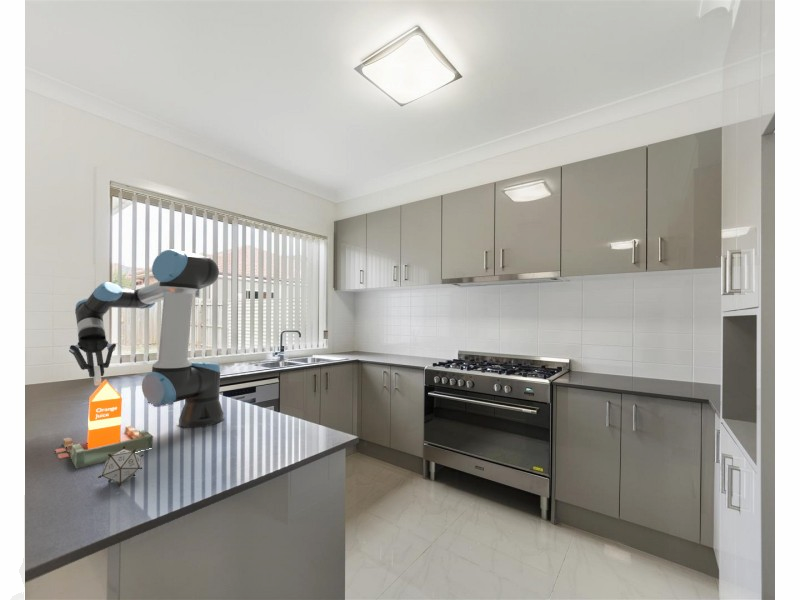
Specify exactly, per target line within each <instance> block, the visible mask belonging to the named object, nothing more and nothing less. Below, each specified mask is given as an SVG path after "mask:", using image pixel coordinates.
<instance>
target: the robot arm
mask: <svg viewBox="0 0 800 600" xmlns="http://www.w3.org/2000/svg"><path fill="white" fill-rule="evenodd" d="M217 264H218V263H216V262H215V260H214V259H212V258H211V257H208V256H205V255H202V254H197V253H194V252H189V251H184V250H180V249H179V250H178V249H166V250H163V251H162V252H160V253H159V254H158V255H157V256H156V257H155V259H154V260H153V262H152V267H151V272H152V275H153V278H154V279H155V280H156V282H153V283H151V284H149V285H146V286H143V287H141V288H138V289H134V290H133V289H126V288H125V289H124V288H122V287H121V286H120V285H118V284H117V283H113V282H110V281H104V282H102V283H100V284H99V285H98V286H97V287H96V288H94V289H93V291H92V293H91V294H90V296H89V297H88V298H84V299H82V300H79V301H77V303H76V304H75V310H74V311H75V320H76V325H77V338H78V342H77V344H75V345H74V344H72V345H70V346H69V352H70V353H71V355H73V356H74V359H75V360H76V362H77V364H78V366H79V368H80V370H83V371H84V370H87V372H88V376H89V378H92V379H93V384H94V387H96V386H97V387H98V386H100V385H101V384H102V382H103V381H102V377H103V376H104V374H105V369H107V368H109V366H110V363H111V360H112V355H113V352H114V351H115V350H116V347H117V343H109V341H108V340H107V335H106V330H105V325H104V324H105V323H104V316H105V314H106V313H108V311H109V310H110V309H111V308H122V309H123V308H125V309H151V308H152V307H154V305H155V304H156V303H158V302H161V301H163V303H162V311H161V314H162V315H161V324H160V337H159V349H158V350H159V351H158V360H157V361H156V362H154V363H153V364H152V366H151V371H150V372H149V373H147V374H145V377H143V378H142V382H141V390H142V393H143V396H144V397H145V399H146V400H147V402H148V401H149V402H150V403H152V404H154V405H163V406H166V405H165V404H169V405H173V404H174V403H177V402H180V401H181V402H182V401H184V404H183V408H182V409H181V412H180V415H179V417H178V426H179V425H180V426H179V427H184V428H199V427H200V426H201V427H205V426H206V427H207V426H211V425H214V424H218V423H220V422H221V421H223V420H224V414H225V413H224V411H223V408H222V404H221V401H220V388H221V387H220V385H221V366H220V364H219V363H217V362H203V361H202V362H198V361H196V362H195V361H192V362H191V361H190V360H189V359H188V355H189V342H190V329H191V321H192V320H191V319H192V310H193V309H192V306H193V295H194V294H195V293H196V292H197V291H199V290H201V289H204V288H207V287H210V286H211V285H213V284H214V283H215V282H216V281H217V280H218V278H219V275H220V270H219V266H218V265H217ZM106 348H107V355H106V358H105V362H104V358H103V351H104V350H105V349H106ZM81 351H83V352H84V353H85V356H86V360H85V358H84V356H83V354H82V352H81ZM93 354H95V356H96V364H97V365H95V363H94V355H93ZM86 361H87V362H86ZM149 402H148V403H149ZM150 403H149V404H150ZM172 403H173V404H172ZM152 404H151V405H152ZM154 405H153V406H154Z"/></svg>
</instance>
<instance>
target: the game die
mask: <svg viewBox="0 0 800 600" xmlns="http://www.w3.org/2000/svg"><path fill="white" fill-rule="evenodd" d="M135 451H136V449H134V450H133V451H130V450H127V449H125V446H123V449H122V450H121V451H119V452H117V453H115V454H113V455H111V454H108V456H110V457H109V458H108V460H107V461H103V462H100V463H101V464H102V465H104V466H103V470H102V472H101V474H100V475H98V477H97V479H100V478H105V479H108V483H111V482H112V481H113V482H115V483H118V486H119V487H120V486H121V487H122V483H124V482H125V481H127V480H128V479H129V478H131V477H133V476H137V475H136V473H137V472H138V471H139V470H143V466H141V459H142V457H144V456H145V454H144V453H142V454H141V455H140V454H138V453H135Z"/></svg>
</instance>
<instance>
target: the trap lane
mask: <svg viewBox="0 0 800 600" xmlns="http://www.w3.org/2000/svg"><path fill="white" fill-rule="evenodd" d="M124 428H125V429H124V432H126V433H125V434H126V435H128V436H129V437H130V436H131V437H132V438H133V439H132V438H131V437H130V438H131V439H127V440H122V441H120V442H118V443H113V444H109V445H104V446H100V447H95V448H91V449H88V448H86V449H84V448H83V447H82V446H81V444H80V443H77V444H75V443H73V439H72V438H71V437H66V438H63V444H62V445H64V446H63V448H65V449H66V453H67V452H70V453H69V458H70V457H71V458H70V459H72V460H71V461H72V463H73V465H74V466H75V468H76V469H79V468H83V467H88V466H91V464H92V465H95V464H98V462H99V463H101V462H106V461H107V460H108V458H109V457H110V456H108V454H111V455H113V454H115V453H117V452H119V451H121V450H122V449H123V446H125V449H127V450H130V451H133V450H134V449H136V451H135V452H138V451H141V450H146V449H149V448H152V449H153V448H154V447H153V446H154V445H153V443H154V442H153V441H154V436H153V435H152V434H151V433H149V431H147V430H146V429H142V430H139V431H138V430H137V429H136V428H134V427H133V426H132V425H127V426H125V427H124ZM66 447H67V448H66ZM87 465H88V466H87Z"/></svg>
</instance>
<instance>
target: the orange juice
mask: <svg viewBox="0 0 800 600" xmlns="http://www.w3.org/2000/svg"><path fill="white" fill-rule="evenodd" d="M88 399H89V403H88V404H89V405H88V415H87V416H88V419H87V443H88V444H87V449H91V448H95V447H100V446H104V445H109V444H113V443H118V442H121V441H120V440H121V426H122V425H121V424H122V406H123V405H122V403H123V401H122V400H123V398H122V396H121V394H120V393H118V391H117V390H116V389H115V388H114V387H113V386H112V385H111V384H110V383H109V382H108V381H107V379H104V380H103V381H102V382H101V384H100V385H98V386H97V388H96V389H95V390H94V392H93V393H92V394H91V395H90V396H89V397H88Z"/></svg>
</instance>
